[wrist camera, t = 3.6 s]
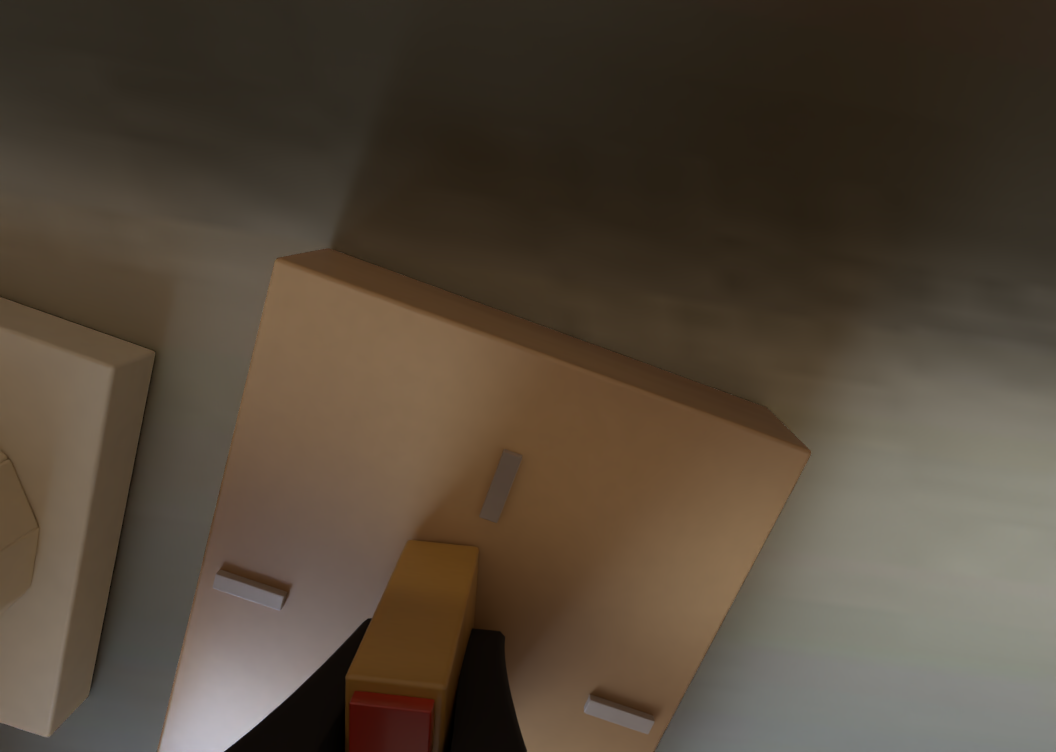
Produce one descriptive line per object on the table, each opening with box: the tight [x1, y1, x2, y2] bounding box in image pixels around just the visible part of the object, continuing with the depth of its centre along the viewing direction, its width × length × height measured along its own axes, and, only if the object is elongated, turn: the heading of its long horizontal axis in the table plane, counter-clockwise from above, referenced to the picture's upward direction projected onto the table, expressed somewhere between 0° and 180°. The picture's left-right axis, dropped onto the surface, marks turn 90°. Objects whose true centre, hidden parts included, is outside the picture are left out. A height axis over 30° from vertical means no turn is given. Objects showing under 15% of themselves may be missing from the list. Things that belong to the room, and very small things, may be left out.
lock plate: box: [157, 248, 811, 752], centre depth 14 cm, size 13×10×3 cm
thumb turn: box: [345, 540, 479, 752], centre depth 11 cm, size 5×1×4 cm, turn 175°
